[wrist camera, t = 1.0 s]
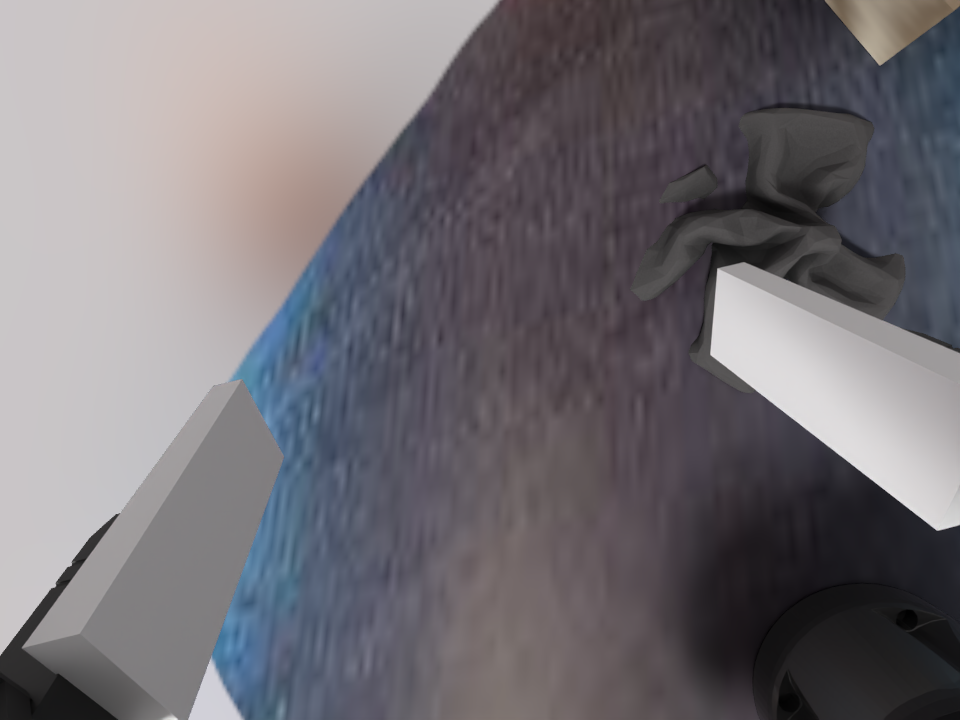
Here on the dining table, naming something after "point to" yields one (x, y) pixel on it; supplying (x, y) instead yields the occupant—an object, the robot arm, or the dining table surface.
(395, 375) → the dining table surface
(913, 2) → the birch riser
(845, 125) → the cloth
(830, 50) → the dining table surface
